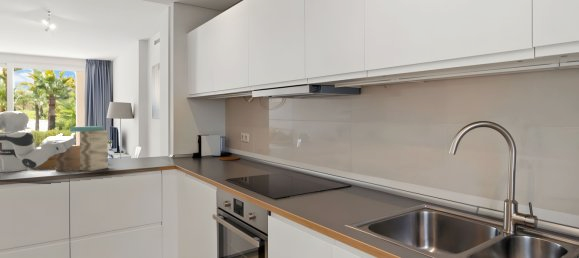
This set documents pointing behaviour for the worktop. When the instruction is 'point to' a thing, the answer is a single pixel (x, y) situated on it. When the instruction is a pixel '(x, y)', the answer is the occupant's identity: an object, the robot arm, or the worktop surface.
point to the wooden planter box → (47, 163)
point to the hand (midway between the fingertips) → (68, 134)
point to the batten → (86, 128)
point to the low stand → (68, 159)
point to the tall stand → (93, 150)
